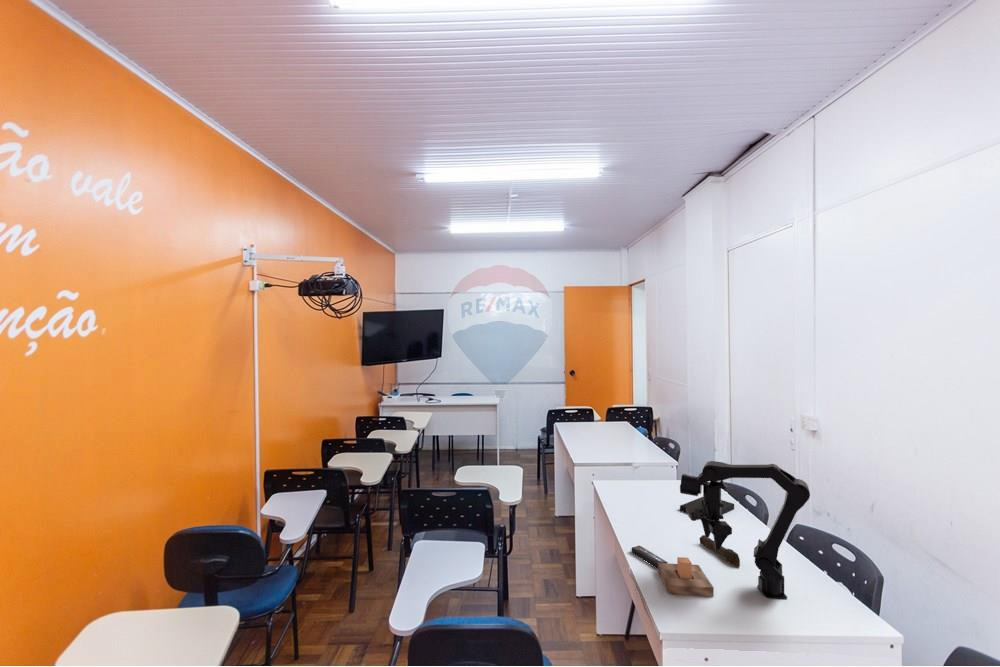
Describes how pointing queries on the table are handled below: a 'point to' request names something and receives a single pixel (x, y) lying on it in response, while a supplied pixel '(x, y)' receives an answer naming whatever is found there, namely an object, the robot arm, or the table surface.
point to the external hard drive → (726, 505)
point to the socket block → (685, 581)
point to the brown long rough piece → (721, 551)
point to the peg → (684, 568)
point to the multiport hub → (647, 556)
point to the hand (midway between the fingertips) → (712, 542)
